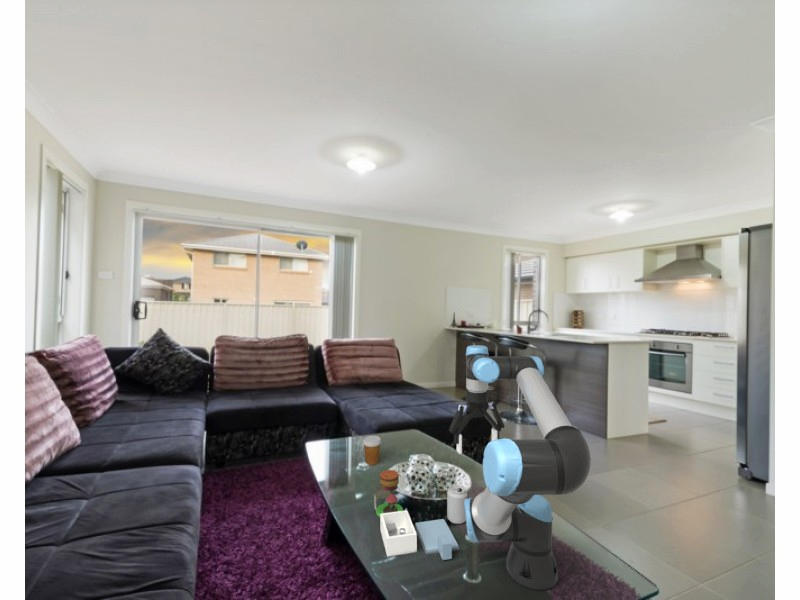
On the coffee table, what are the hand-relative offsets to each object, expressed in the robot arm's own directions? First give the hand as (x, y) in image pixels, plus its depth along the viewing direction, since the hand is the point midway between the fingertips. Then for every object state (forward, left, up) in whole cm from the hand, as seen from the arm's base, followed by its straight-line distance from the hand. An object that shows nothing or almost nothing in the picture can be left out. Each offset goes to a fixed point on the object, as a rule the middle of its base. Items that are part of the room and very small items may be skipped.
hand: (477, 450), depth 133 cm
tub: (+4, +28, -31) cm, 42 cm away
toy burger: (+22, +27, -31) cm, 47 cm away
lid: (+1, +14, -30) cm, 34 cm away
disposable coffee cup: (+65, +28, -31) cm, 77 cm away
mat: (+3, +14, -31) cm, 34 cm away
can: (+11, +3, -31) cm, 33 cm away
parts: (+4, +28, -31) cm, 42 cm away
